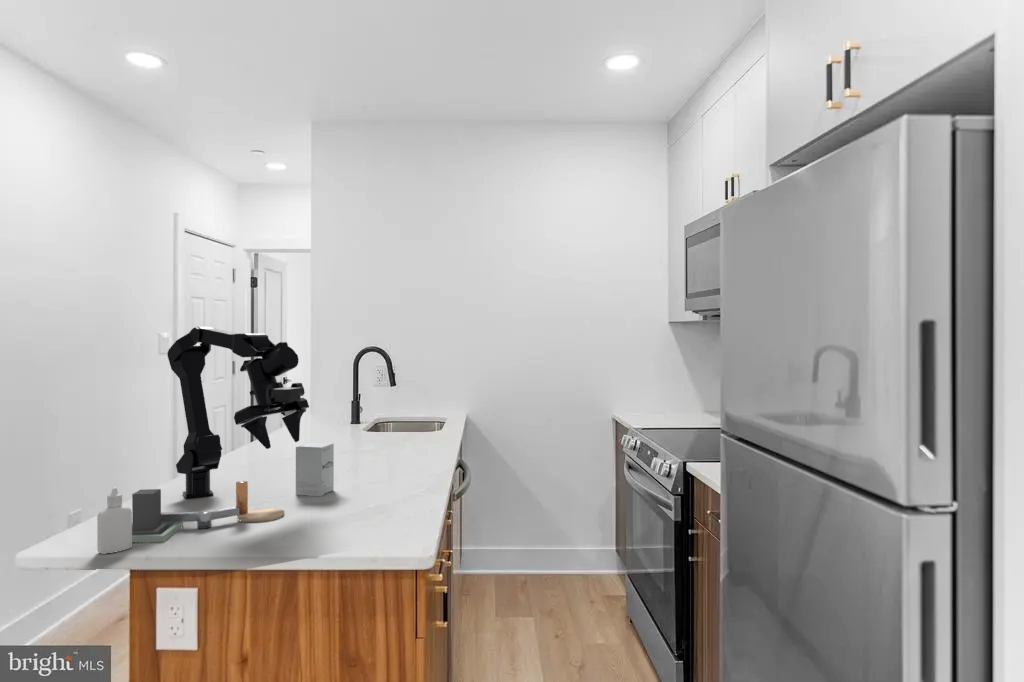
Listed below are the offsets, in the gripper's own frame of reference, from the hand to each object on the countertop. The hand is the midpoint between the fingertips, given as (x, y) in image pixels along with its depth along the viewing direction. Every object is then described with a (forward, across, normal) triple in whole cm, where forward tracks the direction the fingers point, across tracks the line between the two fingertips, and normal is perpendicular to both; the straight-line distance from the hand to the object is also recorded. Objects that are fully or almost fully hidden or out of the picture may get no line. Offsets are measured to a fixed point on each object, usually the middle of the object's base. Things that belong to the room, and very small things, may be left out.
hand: (283, 444), depth 159 cm
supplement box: (+13, +15, +10) cm, 22 cm away
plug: (+10, -28, +15) cm, 33 cm away
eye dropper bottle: (+11, -38, +11) cm, 41 cm away
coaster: (+14, -8, +5) cm, 17 cm away
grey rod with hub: (+11, -19, +13) cm, 25 cm away
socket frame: (+10, -28, +15) cm, 33 cm away
